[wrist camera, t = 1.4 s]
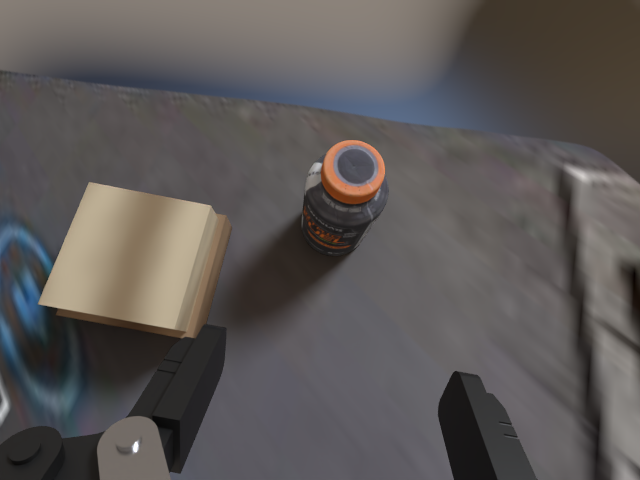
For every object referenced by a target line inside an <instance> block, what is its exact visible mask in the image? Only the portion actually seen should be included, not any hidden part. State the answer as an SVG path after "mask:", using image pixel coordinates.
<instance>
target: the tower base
mask: <svg viewBox="0 0 640 480" xmlns="http://www.w3.org/2000/svg"><path fill="white" fill-rule="evenodd" d="M231 230H232V227H231V224H230V222H229V220H228V218H227V216H226V215H220V214H215V212H214V210H213V209H212V207H211V206H210V205H205V204H200V203H194V202H189V201H184V200H179V199H174V198H169V197H163V196H158V195H153V194H148V193H143V192H138V191H132V190H127V189H122V188H117V187H112V186H106V185H101V184H96V183H91V182H89V184H88V186H87V189H86V191H85V193H84V196H83V198H82V200H81V203H80V205H79V208H78V210H77V212H76V215H75V217H74V219H73V222H72V224H71V226H70V229H69V231H68V234H67V236H66V238H65V241H64V243H63V245H62V248H61V250H60V252H59V255H58V257H57V260H56V262H55V264H54V267H53V269H52V271H51V274H50V276H49V278H48V281H47V283H46V286H45V288H44V290H43V293H42V295H41V297H40V300H39V302H38V304H39V305H45V306H50V307H55V308H58V311H57V313H56V315H59V316H64V317H69V318H75V319H80V320H86V321H91V322H97V323H102V324H107V325H113V326H118V327H124V328H129V329H135V330H140V331H145V332H151V333H156V334H162V335H167V336H173V337H178V338H184V337H191V338H196V337H197V335H198V333H199V331H200V330H201V328H202V326H203V325H204V324H206V323H207V319H208V315H209V311H210V308H211V304H212V300H213V297H214V293H215V289H216V285H217V282H218V278H219V274H220V271H221V267H222V263H223V259H224V256H225V252H226V248H227V245H228V241H229V237H230V234H231Z"/></svg>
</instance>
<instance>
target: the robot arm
mask: <svg viewBox="0 0 640 480" xmlns="http://www.w3.org/2000/svg"><path fill="white" fill-rule="evenodd" d="M225 345H226V328H224V327H218V326H213V325H207V324H204V325H203V326H202V328H201V330H200V331H199V333H198V335H197V337H196V338H191V337H184V338H182V339H181V340H180V341H178V342H177V343H176V344H174V345H173V346H172V347H171V349H170V350H169V352H168V353H167V355H166V357H165V358H164V361H162V363H161V364H160V366H159V368H158V369H157V372H155V374H154V376H153V377H152V379H151V380H150V382H149V383H148V385H147V387H146V388H145V390H144V391H143V393H142V395H141V396H140V398H139V399H138V401H137V402H136V404H135V406H134V407H133V409H132V410H131V412H130V413H129V415H128V416H127V417H126V418H125V419H122V420H120V421H118V422H116V423H115V424H113V425H112V426H111V427H109V428H108V429H107V430H106V431H104V432H101V433H98V434H93V435H87V436H79V437H71V438H64V439H62V438H61V435H60V433H59V432H58V431H57V430H56V429H54V428H51V427H47V426H39V427H33V428H29V429H26V430H23V431H21V432H19V433H17V434H15V435H13V436H11V437H10V438H8V439H7V440H6V441H4V442H3V443H2V444H1V445H0V480H171V478H170V475H169V473H170V472H175V473H180V474H181V471H182V469H183V466H184V464H185V462H186V459H187V457H188V454H189V452H190V449H191V447H192V445H193V442H194V440H195V437H196V435H197V433H198V430H199V428H200V425H201V423H202V420H203V418H204V416H205V413H206V411H207V408H208V406H209V404H210V401H211V399H212V396H213V394H214V391H215V389H216V387H217V384H218V382H219V379H220V377H221V374H222V370H223V366H224V360H225ZM438 417H439V422H440V426H441V430H442V434H443V438H444V442H445V446H446V450H447V454H448V458H449V462H450V466H451V470H452V474H453V478H454V480H537V478H536V476H535V474H534V472H533V470H532V467H531V465H530V463H529V461H528V458H527V456H526V454H525V452H524V450H523V447H522V445H521V443H520V441H519V439H517V434H516V432H515V430H514V428H513V427H512V426H511V424H512V423H511V421H510V419H509V417H508V414H507V412H506V410H505V408H504V407H503V406H502V404H501V403H500V402H499V401H498V400H497V398H496V397H495V396H494V395H493V394H490V393H486V390H485V388H484V385H483V383H482V381H481V379H480V377H479V376H478V375H474V374H469V373H463V372H458V371H455V372H453V374H452V376H451V378H450V380H449V382H448V384H447V386H446V388H445V390H444V393H443V395H442V397H441V399H440V402H439V406H438Z"/></svg>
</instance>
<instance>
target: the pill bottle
mask: <svg viewBox="0 0 640 480" xmlns="http://www.w3.org/2000/svg"><path fill="white" fill-rule="evenodd" d="M388 192H389V190H388V182H387V178H386V175H385V166H384V162H383V159H382V157H381V156H380V154H379V153H378V152H377V151H376V150H375V149H374V148H373V147H372V146H370V145H368V144H367V143H364V142H361V141H357V140H347V141H342V142H340V143H338V144H336V145H334V146H333V147H332V148H331V149H330V150H329V151H328V152H327V154H325V155H323V156H322V157H320V158H319V159H318V160H317V161H316V162H315V163H314V164H313V166H312V167H311V169H310V171H309V173H308V176H307V179H306V186H305V193H304V203H303V214H302V232H303V235H304V237H305V239H306V241H307V242H308V243H309V245H310V246H311V247H313V248H314V249H315V250H316V251H318V252H320V253H322V254H325V255H330V256H340V255H344V254H347V253H349V252H351V251H353V250H354V249H355V248H357V247H358V246H359V244H360V243H361V242H362V240H363V239H364V237H365V236H366V234H367V233H368V231H369V230H370V228H371V227H372V225H373V224H374V222H375V221H376V219H377V218H378V216H379V215H380V213H381V212H382V211H383V209H384V207H385V205H386V202H387V199H388Z"/></svg>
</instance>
